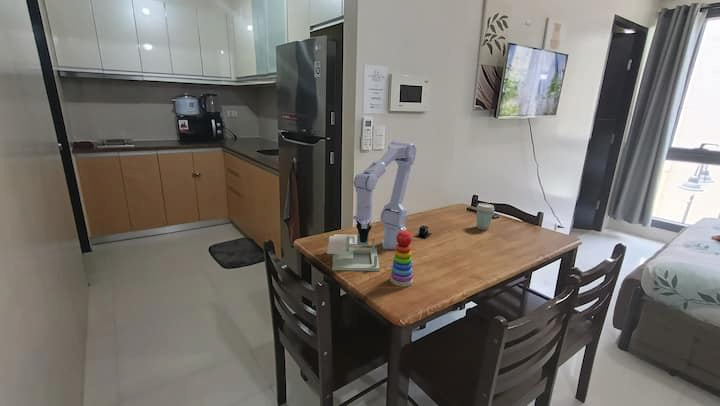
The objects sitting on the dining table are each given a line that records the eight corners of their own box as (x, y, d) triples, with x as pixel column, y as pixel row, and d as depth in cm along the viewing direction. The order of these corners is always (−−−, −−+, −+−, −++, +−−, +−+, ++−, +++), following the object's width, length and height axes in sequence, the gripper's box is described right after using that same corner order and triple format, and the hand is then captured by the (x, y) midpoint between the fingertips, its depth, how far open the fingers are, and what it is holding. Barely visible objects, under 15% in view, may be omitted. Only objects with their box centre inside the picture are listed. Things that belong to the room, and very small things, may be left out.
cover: (349, 238, 136) (349, 235, 136) (349, 254, 122) (349, 250, 122) (329, 237, 136) (329, 234, 136) (326, 253, 122) (326, 250, 121)
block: (367, 241, 131) (368, 231, 130) (368, 245, 127) (368, 235, 126) (357, 240, 131) (357, 231, 130) (357, 245, 127) (357, 235, 126)
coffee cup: (493, 227, 172) (496, 204, 169) (489, 232, 165) (492, 208, 162) (476, 223, 177) (479, 201, 173) (471, 228, 170) (474, 205, 166)
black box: (421, 231, 166) (422, 222, 165) (435, 234, 162) (436, 225, 161) (410, 238, 156) (411, 228, 155) (425, 242, 152) (426, 232, 151)
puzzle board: (376, 251, 140) (376, 238, 138) (379, 271, 122) (380, 257, 121) (334, 250, 139) (335, 237, 138) (332, 270, 122) (332, 256, 120)
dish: (356, 238, 152) (356, 234, 151) (356, 247, 142) (356, 243, 142) (334, 238, 152) (334, 234, 151) (332, 247, 142) (333, 243, 142)
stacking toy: (387, 276, 119) (390, 226, 114) (410, 276, 120) (414, 226, 115) (391, 288, 112) (395, 235, 107) (415, 287, 112) (420, 235, 107)
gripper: (353, 200, 132) (352, 232, 135) (353, 211, 118) (352, 247, 121) (371, 200, 132) (370, 233, 136) (373, 211, 118) (372, 247, 122)
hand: (363, 239), depth 129 cm, fingers closed on block, 4 cm apart
